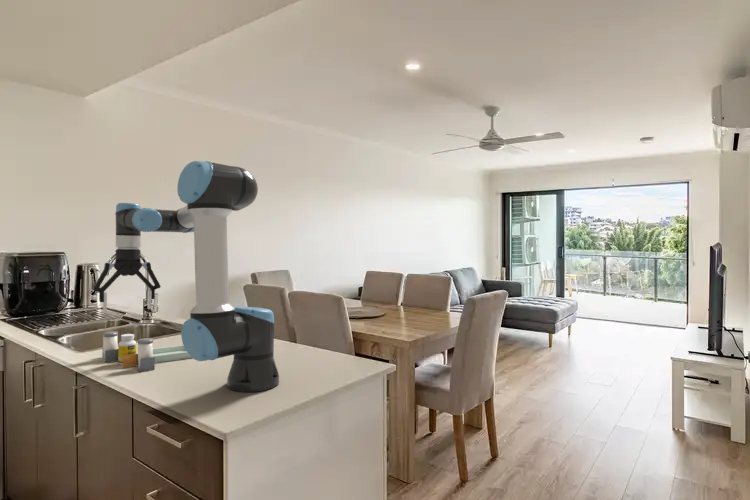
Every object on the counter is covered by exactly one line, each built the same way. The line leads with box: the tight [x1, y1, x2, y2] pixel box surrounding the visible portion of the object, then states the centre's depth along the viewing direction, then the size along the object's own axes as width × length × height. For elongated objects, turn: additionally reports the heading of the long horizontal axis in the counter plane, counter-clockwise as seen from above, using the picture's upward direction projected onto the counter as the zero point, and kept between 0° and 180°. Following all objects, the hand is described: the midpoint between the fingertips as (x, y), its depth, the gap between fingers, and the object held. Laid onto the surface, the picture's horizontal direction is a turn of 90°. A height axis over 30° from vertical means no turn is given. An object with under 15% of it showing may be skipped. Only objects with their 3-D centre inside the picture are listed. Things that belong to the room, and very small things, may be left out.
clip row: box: [101, 345, 156, 372], centre depth 156 cm, size 26×12×4 cm, turn 37°
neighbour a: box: [137, 337, 154, 370], centre depth 151 cm, size 5×5×9 cm
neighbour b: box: [102, 330, 119, 362], centre depth 161 cm, size 5×5×9 cm
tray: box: [153, 344, 193, 364], centre depth 166 cm, size 12×16×2 cm
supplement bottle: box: [117, 333, 137, 366], centre depth 156 cm, size 5×5×10 cm
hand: (127, 310), depth 156 cm, fingers open, 13 cm apart
